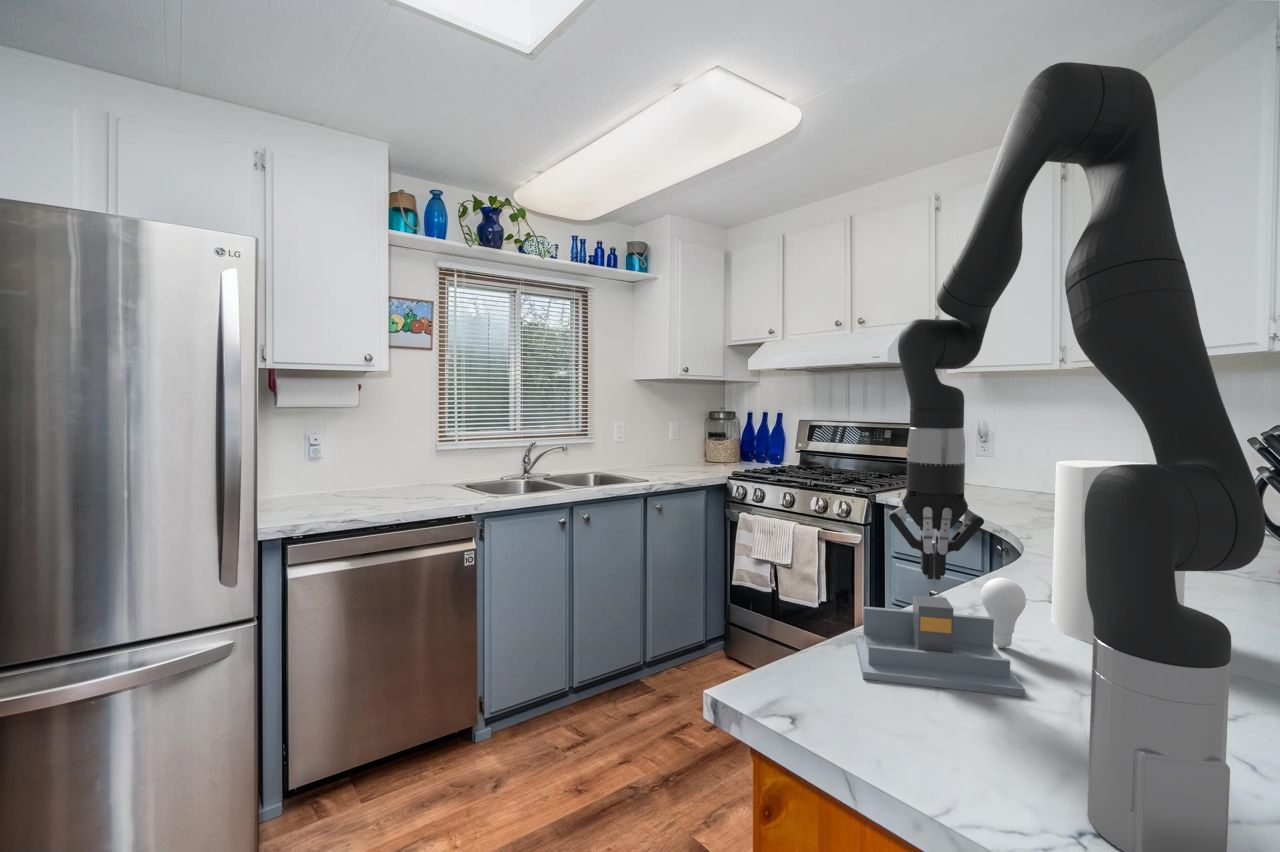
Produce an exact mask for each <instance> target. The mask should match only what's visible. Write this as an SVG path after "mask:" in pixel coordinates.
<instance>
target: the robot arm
mask: <svg viewBox="0 0 1280 852" xmlns="http://www.w3.org/2000/svg"><path fill="white" fill-rule="evenodd" d="M1159 131H1160V130H1159V121H1158V113H1157V106H1156V101H1155V96H1154V92H1153V89H1152V87H1151V84H1150V82H1149V81H1148V79H1147V78H1146V76H1145V75H1143V74H1142V73H1141V72H1139V71H1137V70H1135V69H1132V68H1127V67H1122V66H1111V65H1102V64H1101V65H1100V64H1091V63H1084V62H1072V61H1071V62H1069V61H1067V62H1057V63H1055V64H1052V65H1050V66H1047V67H1046V68H1044V69H1043V70H1042V71H1041V72H1039V73H1038V74H1037V76H1036V77H1035V78H1034V79H1033V80H1031V82H1030V83H1029V85H1028V86H1027V88H1026V89H1025V91H1024V92H1023V94H1022V96H1021V97H1020V100H1019V102H1018V104H1017V106H1016V108H1015V109H1014V111H1013V114H1012V116H1011V118H1010V121H1009V124H1008V127H1007V129H1006V132H1005V135H1004V137H1003V139H1002V141H1001V145H1000V147H999V150H998V152H997V156H996V159H995V161H994V164H993V167H992V169H991V171H990V172H991V173H990V175H989V178H988V180H987V184H986V186H985V189H984V192H983V195H982V197H981V201H980V203H979V207H978V209H977V212H976V215H975V218H974V221H973V223H972V225H971V228H970V229H969V232H968V234H967V236H966V238H965V241H964V243H963V245H962V247H961V249H960V250H959V252H958V254H957V256H956V258H955V259H954V262H953V263H952V264H951V267H950V269H949V270H948V272H947V274H946V275H945V277H944V280H943V281H942V283H941V285H940V287H939V289H938V291H937V294H936V303H937V307H939V309H940V310H941V311H942V312H943V313H944V314H946V315H948V316H949V317H951V319H930V318H929V319H927V318H924V319H923V318H919V319H914V320H912V321H910V322H908V323H907V324H906V325H905V326H904V328H903V329H902V330H901V332H900V335H899V337H898V341H897V352H898V353H897V355H898V359H899V363H900V366H901V368H902V369H901V370H902V372H903V375H904V379H905V380H904V381H905V383H906V388H907V392H908V396H909V404H910V405H909V431H908V436H907V437H908V438H907V443H906V445H907V447H906V453H905V454H906V463H907V464H906V491H905V495H904V498H902V499H903V500H902V505H900V506H899V507H897V508H896V509H894V510H893V509H892V510H891V509H890V510H888V511H887V517H888V518H889V520H890V522H891V523H892V524H893V525H894V527H895V528H896V529H897V530H898V532H899V534H901V536H902V537H903V539H904V540H906V542H907V544H908V545H909V546H910V547H911V548H912V549H914V550H918V551H920V570H921V573H922V574H923V575H924V576H925V578H926V579H927V580H936V581H941V578H942V577H945V575H946V571H947V570H946V569H947V568H946V566H947V565H946V563H947V555H948V554H949V553H950V552H959V551H961V550H962V549H963V547H964V546H965V545H966V544H967V543H968V542H969V541H970V539H972V537H973V536H974V535H975V534H976V533H977V532H978V530H980V528H981V527H982V526H983V525H984V524H985V520H984V518H983V517H981V516H980V515H979V514H976V513H975V512H973V511H971V510H970V509H969V504H968V502H967V501H966V498H965V482H966V481H965V478H966V477H965V475H966V471H965V469H966V437H965V429H964V428H965V427H964V425H965V395H964V392H963V391H962V390H961V389H960V388H958V387H955V386H951V385H948V384H944V383H942V382H941V381H940V379H939V377H938V374H937V372H936V371H937V370H958V369H962V368H965V367H967V366H968V365H969V364H971V363H972V362H973V361H974V360H975V359H976V358H977V357H978V355H979V354H980V351H981V349H982V345H983V341H984V337H985V333H986V330H987V328H988V327H987V326H988V324H989V320H990V317H991V314H992V310H993V308H994V307H995V305H996V304H997V302H998V301H999V299H1000V297H1001V296H1002V295H1003V294H1004V292H1005V290H1006V289H1007V287H1008V285H1009V283H1010V282H1011V280H1012V278H1013V277H1014V276H1015V273H1016V271H1017V270H1018V267H1019V265H1020V261H1021V258H1022V254H1023V252H1022V251H1023V210H1024V202H1025V199H1026V195H1027V193H1028V190H1029V189H1030V186H1031V185H1032V183H1033V181H1034V180H1035V178H1036V177H1037V175H1038V173H1039V172H1040V170H1041V169H1042V168H1043V167H1044V165H1045V163H1046V162H1049V163H1061V164H1073V165H1079V166H1080V167H1081V168H1082V170H1083V171H1084V174H1085V177H1086V181H1087V183H1088V187H1089V193H1090V194H1089V195H1090V201H1091V213H1090V217H1089V219H1088V222H1087V224H1086V226H1085V229H1084V230H1083V232H1082V234H1081V235H1080V238H1079V239H1078V242H1077V244H1076V246H1075V247H1074V249H1073V251H1072V254H1071V256H1070V258H1069V260H1068V264H1067V266H1066V269H1065V276H1064V288H1065V295H1066V301H1067V305H1068V311H1069V315H1070V320H1071V325H1072V330H1073V334H1074V336H1075V339H1076V341H1077V344H1078V345H1079V347H1080V350H1081V351H1082V352H1083V354H1084V355H1085V356H1086V357H1087V359H1088V360H1089V362H1091V364H1092V365H1093V366H1094V367H1095V368H1096V369H1097V370H1098V371H1099V372H1100V374H1101V375H1103V377H1104V378H1105V379H1106V380H1107V381H1108V382H1109V383H1110V384H1111V386H1113V387H1114V389H1116V390H1117V391H1118V392H1119V393H1120V394H1121V395H1122V397H1123V399H1125V400H1126V401H1127V402H1128V403H1129V404H1130V405H1131V406H1132V408H1133V409H1134V411H1135V412H1136V413H1137V416H1138V417H1139V419H1140V420H1141V422H1142V424H1143V426H1144V429H1145V431H1146V433H1147V435H1148V437H1149V441H1150V443H1151V447H1152V451H1153V454H1154V457H1155V461H1156V464H1155V463H1151V464H1127V465H1117V466H1112V467H1109V468H1107V469H1105V470H1103V471H1102V472H1101V473H1099V474H1098V475H1097V476H1096V478H1095V479H1094V481H1093V482H1092V484H1091V486H1090V489H1089V491H1088V494H1087V499H1086V504H1085V515H1084V530H1085V555H1086V590H1087V597H1088V601H1089V605H1090V608H1091V612H1092V615H1093V626H1094V627H1093V644H1092V659H1091V660H1092V661H1091V662H1092V664H1091V685H1090V713H1089V714H1090V716H1089V718H1090V719H1089V721H1090V722H1089V747H1088V750H1089V751H1088V770H1087V771H1088V784H1087V786H1088V787H1087V813H1086V814H1087V817H1088V820H1089V823H1090V824H1091V826H1092V827H1093V829H1094V830H1095V831H1096V832H1097V833H1098V834H1099V835H1100V836H1101V837H1102V838H1103V839H1105V840H1107V842H1109V843H1110V844H1111V845H1113V846H1114V847H1116V848H1118V849H1120V850H1121V851H1122V852H1227V851H1228V832H1229V813H1230V811H1229V810H1230V809H1229V807H1230V788H1231V787H1230V785H1231V784H1230V783H1231V767H1230V766H1229V765H1228V763H1227V743H1228V721H1229V720H1228V718H1229V717H1228V715H1229V696H1230V677H1231V673H1230V672H1231V660H1232V635H1231V631H1230V630H1229V628H1228V627H1227V625H1225V623H1224V622H1222V621H1220V620H1219V619H1218V618H1216V617H1214V616H1212V615H1210V614H1208V613H1205V612H1202V611H1200V610H1197V609H1194V608H1191V607H1190V606H1189V607H1188V606H1186V605H1184V606H1183V605H1181V604H1180V603H1179V602H1178V599H1177V593H1176V584H1175V571H1185V572H1228V571H1235V570H1238V569H1242V568H1245V567H1246V566H1247V565H1249V564H1251V563H1252V562H1253V561H1254V560H1255V559H1256V558H1258V556H1259V554H1260V552H1261V549H1262V547H1263V545H1264V542H1265V536H1266V519H1265V512H1264V511H1265V510H1264V506H1263V501H1262V499H1261V496H1260V492H1259V489H1258V487H1257V483H1256V481H1255V479H1254V476H1253V473H1252V471H1251V468H1250V465H1249V464H1248V461H1247V458H1246V456H1245V454H1244V452H1243V449H1242V446H1241V444H1240V442H1239V440H1238V436H1237V434H1236V433H1235V430H1234V427H1233V425H1232V423H1231V419H1230V417H1229V415H1228V413H1227V409H1226V408H1225V404H1224V401H1223V399H1222V396H1221V393H1220V390H1219V386H1218V384H1217V380H1216V376H1215V373H1214V370H1213V366H1212V363H1211V361H1210V357H1209V354H1208V350H1207V346H1206V343H1205V340H1204V337H1203V336H1204V335H1203V333H1202V329H1201V328H1202V327H1201V325H1200V320H1199V316H1198V315H1199V314H1198V309H1197V304H1196V299H1195V297H1194V296H1195V295H1194V291H1193V287H1192V285H1191V280H1190V276H1189V272H1188V268H1187V266H1186V265H1187V264H1186V261H1185V258H1184V255H1183V253H1182V249H1181V247H1180V243H1179V240H1178V236H1177V232H1176V228H1175V223H1174V220H1173V219H1174V218H1173V213H1172V209H1171V205H1170V200H1169V195H1168V192H1167V191H1168V190H1167V186H1166V182H1165V178H1164V176H1165V175H1164V169H1163V162H1162V153H1161V143H1160V133H1159ZM906 513H907V514H908V516H910V518H911V519H912V521H913V522H914V524H916V526H917V527H918V530H919V531H918V532H919V539H918V538H916V537H915V536H914V534H913V533H912V532H911V531H910V529H909V527H908V526H907V525H906V524H905V523H906V522H907V515H906ZM961 518H962V520H961ZM960 520H961V522H962V526H960V528H958V530H956V532H955V533H954V534H953V536H952V537H950V533H951V532H950V531H951V529H953V527H955V525H956V524H957V523H958V522H959V521H960ZM933 530H934V532H935V533H934V534H935V537H934V534H933ZM933 537H934V546H933ZM933 548H934V549H933ZM933 550H934V551H933Z"/></svg>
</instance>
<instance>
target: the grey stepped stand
mask: <svg viewBox="0 0 1280 852" xmlns="http://www.w3.org/2000/svg"><path fill="white" fill-rule="evenodd" d="M862 621H863V624H862V625H863V628H862V629H863V631H862V632H863V637H862V639H860V638H859V639H858V638H857V639H856V640H855V646H856V651H857V657H858V661H859V665H860V672H861V676H862V680H863V679H864V680H870V681H880V682H887V683H888V682H890V683H898V684H907V685H916V686H926V687H933V688H943V689H951V690H960V691H961V690H962V691H969V692H970V691H971V692H979V693H985V694H986V693H987V694H996V695H1003V696H1004V695H1007V696H1014V697H1015V696H1016V697H1023V698H1024V697H1026V688H1025V687H1024V686H1023V685H1022V683H1021V682H1020V681H1019V679H1018V678H1017V677H1016V675H1015V674H1014V673H1013V672H1012V669H1011V660H1010V659H1009V658H1004V657H1002V658H995V657H985V656H975V655H964V654H954V653H944V652H934V651H923V650H913V649H903V648H893V647H883V646H872V645H869V647H868V659H867V655H866V651H865V647H864V634H869V635H880V636H890V637H901V638H912V623H913V609H912V610H911V609H910V610H909V609H898V608H889V607H888V608H886V607H875V606H863V619H862ZM993 632H994V619H993V618H992V617H989V616H982V615H971V614H970V615H969V614H957V613H953V642H954V643H965V644H976V645H987V646H993V647H994V643H993Z"/></svg>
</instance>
